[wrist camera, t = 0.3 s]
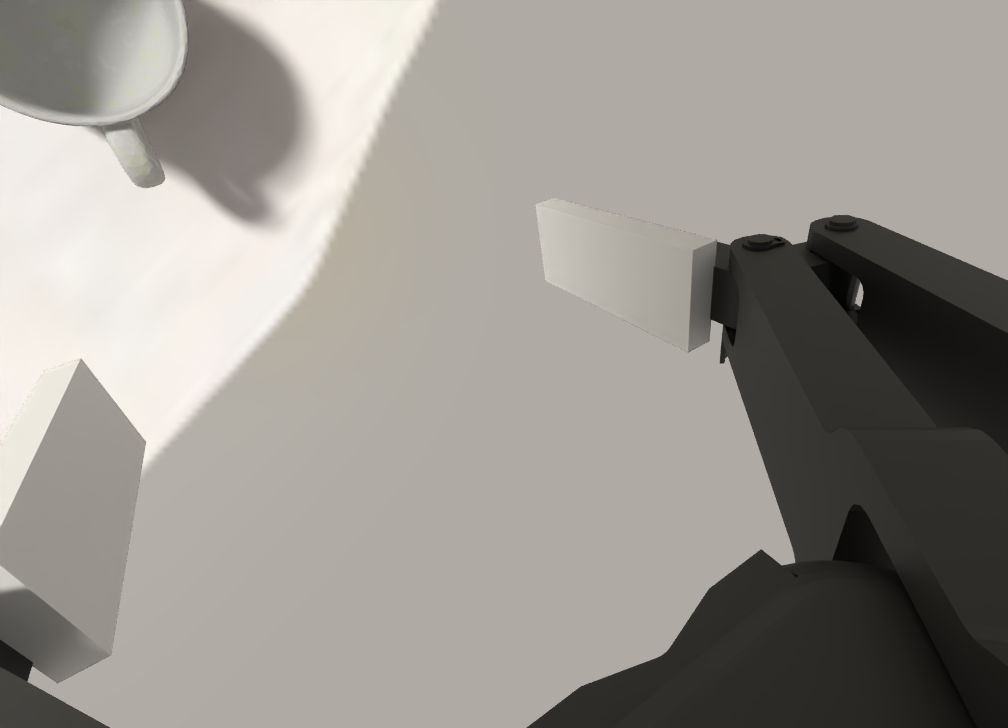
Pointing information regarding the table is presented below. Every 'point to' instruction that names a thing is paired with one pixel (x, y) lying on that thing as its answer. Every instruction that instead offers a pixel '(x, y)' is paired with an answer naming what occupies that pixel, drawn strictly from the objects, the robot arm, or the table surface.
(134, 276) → the table surface
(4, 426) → the table surface
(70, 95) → the teacup
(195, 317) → the table surface
